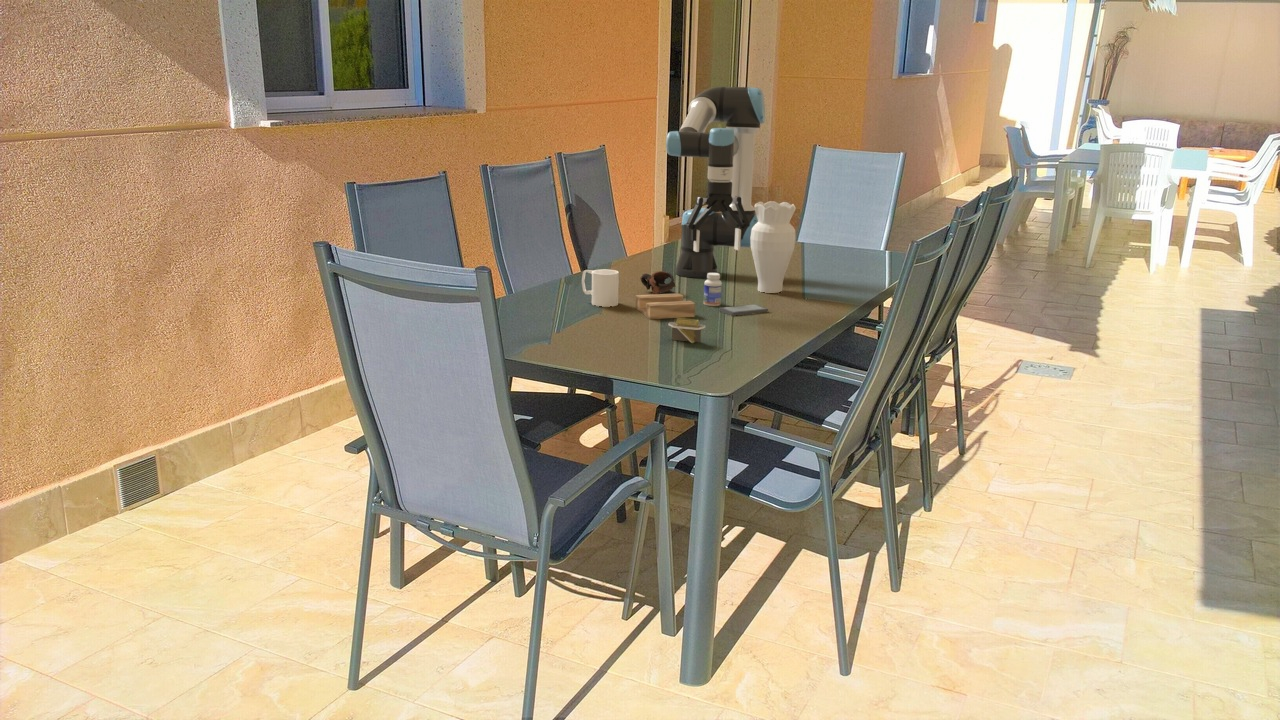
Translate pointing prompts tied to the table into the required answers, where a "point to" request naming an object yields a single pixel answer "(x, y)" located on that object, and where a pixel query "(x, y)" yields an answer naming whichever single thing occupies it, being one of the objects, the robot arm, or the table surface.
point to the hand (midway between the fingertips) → (716, 250)
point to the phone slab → (743, 309)
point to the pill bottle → (712, 290)
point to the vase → (772, 243)
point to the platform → (686, 330)
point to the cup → (603, 287)
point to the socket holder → (664, 306)
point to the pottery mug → (658, 282)
